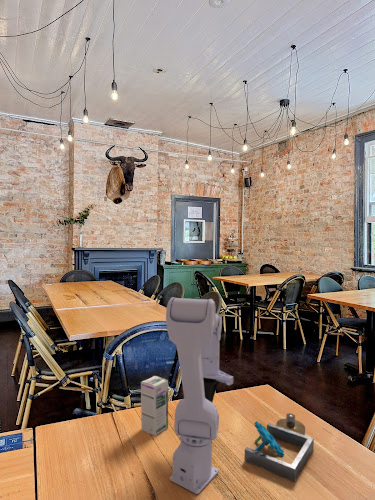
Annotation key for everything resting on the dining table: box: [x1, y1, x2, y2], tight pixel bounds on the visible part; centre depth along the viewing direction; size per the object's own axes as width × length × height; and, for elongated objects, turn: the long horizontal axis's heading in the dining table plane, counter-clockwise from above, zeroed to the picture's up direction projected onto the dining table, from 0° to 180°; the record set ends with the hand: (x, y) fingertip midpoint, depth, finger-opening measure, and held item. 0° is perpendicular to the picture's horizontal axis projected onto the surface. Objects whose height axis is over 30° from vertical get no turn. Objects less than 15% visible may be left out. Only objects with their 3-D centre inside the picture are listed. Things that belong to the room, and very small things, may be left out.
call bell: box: [275, 412, 306, 435], centre depth 100 cm, size 8×8×5 cm
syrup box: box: [140, 375, 169, 437], centre depth 101 cm, size 6×6×14 cm
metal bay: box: [244, 422, 315, 483], centre depth 89 cm, size 15×13×3 cm
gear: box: [254, 421, 285, 458], centre depth 90 cm, size 11×6×10 cm
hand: (208, 403), depth 97 cm, fingers closed
